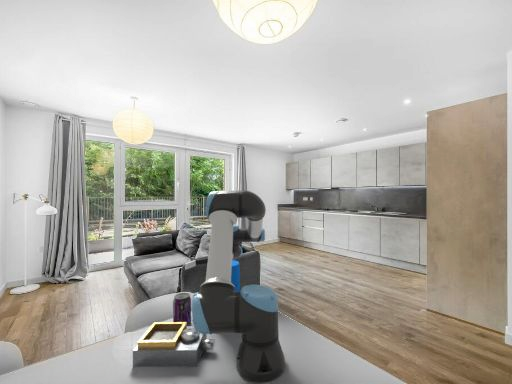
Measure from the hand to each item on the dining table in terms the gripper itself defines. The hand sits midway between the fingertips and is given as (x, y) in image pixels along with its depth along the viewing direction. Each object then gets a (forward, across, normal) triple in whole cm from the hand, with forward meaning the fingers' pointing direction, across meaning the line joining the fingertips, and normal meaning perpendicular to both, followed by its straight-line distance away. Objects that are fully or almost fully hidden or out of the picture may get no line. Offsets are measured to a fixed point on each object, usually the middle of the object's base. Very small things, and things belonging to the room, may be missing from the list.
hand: (197, 268), depth 109 cm
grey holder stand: (+24, -12, -20) cm, 34 cm away
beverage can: (+10, 0, -21) cm, 23 cm away
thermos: (+2, -17, -21) cm, 27 cm away
